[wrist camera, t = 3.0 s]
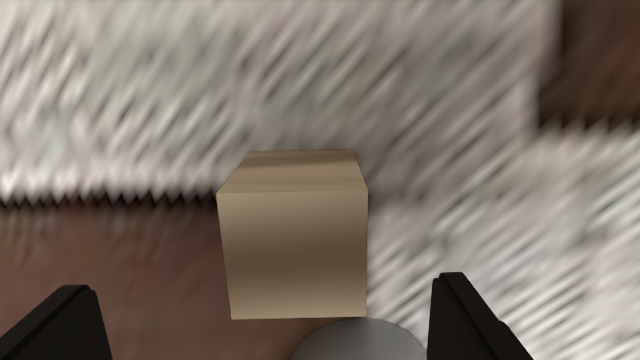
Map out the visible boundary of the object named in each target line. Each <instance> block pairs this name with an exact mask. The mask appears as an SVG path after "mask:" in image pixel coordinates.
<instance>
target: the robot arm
mask: <svg viewBox="0 0 640 360" xmlns="http://www.w3.org/2000/svg"><path fill="white" fill-rule="evenodd" d="M0 360H113V359H112V355H111V351H110V347H109V343H108V338H107V334H106V330H105V326H104V322H103V318H102V314H101V310H100V306H99V302H98V298H97V294H96V292H95V291H94V290H91V289H90V287H89V286H88V285H64V286H61V287H60V288H58V289H57V290H56V291H55V292H53V293H52V294H51V295H50V296H49V297H48V298H46V299H45V300H44V301H43V302H42V303H40V304H39V305H38V306H37V307H36V308H35V309H33V310H32V311H31V312H30V313H29V314H28V315H26V316H25V317H24V318H23V319H22V320H21V321H19V322H18V323H17V324H16V325H15V326H13V327H12V328H11V329H10V330H9V331H8V332H6V333H5V334H4V335H3V336H2V337H1V338H0ZM427 360H533V358H532V357H531V356H530V354H529V353H528V352H527V350H526V349H525V348H524V347H523V345H522V344H521V343H520V341H519V340H518V339H517V337H516V336H515V335H514V334H513V332H512V331H511V330H510V328H509V327H508V326H507V325H506V324H505V323H504V322H502V321H499V320H498V319H497V317H496V316H495V315H494V313H493V312H492V311H491V309H490V308H489V307H488V305H487V304H486V303H485V301H484V300H483V299H482V297H481V296H480V295H479V293H478V292H477V291H476V289H475V288H474V287H473V285H472V284H471V283H470V281H469V280H468V279H467V277H466V276H465V275H464V274H463V273H462V272H447V273H440V275H439V278H434V279H433V283H432V295H431V307H430V319H429V332H428V344H427Z"/></svg>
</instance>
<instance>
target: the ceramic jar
mask: <svg viewBox="0 0 640 360" xmlns="http://www.w3.org/2000/svg"><path fill="white" fill-rule="evenodd" d="M290 360H427V351H426V349H425V347H424V346H423V345H422V343H421V342H420V341H419V340H418V339H417V338H416V337H415V336H414V335H413V334H411V333H410V332H409V331H407V330H406V329H404V328H402V327H400V326H398V325H396V324H393V323H390V322H387V321H383V320H379V319H372V318H352V319H345V320H340V321H337V322H333V323H330V324H328V325H325V326H323V327H321V328H319V329H318V330H316V331H314V332H313V333H311V334H310V335H309V336H307V337H306V338H305V339H304V340H303V341H302V342H301V343H300V344H299V345H298V347H297V348H296V349H295V351H294V352H293V354H292V356H291V358H290Z"/></svg>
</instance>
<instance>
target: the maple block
mask: <svg viewBox="0 0 640 360" xmlns="http://www.w3.org/2000/svg"><path fill="white" fill-rule="evenodd" d="M216 198H217V206H218V214H219V222H220V230H221V238H222V246H223V254H224V262H225V270H226V278H227V286H228V294H229V301H230V309H231V317H232V319H270V318H317V317H363V316H366V275H367V219H368V189H367V186H366V184H365V181H364V178H363V176H362V173H361V171H360V168H359V165H358V163H357V160H356V158H355V155H354V153H353V150H352V149H331V150H291V151H251V152H249V154H248V155H247V156H246V157H245V159H244V160H243V161H242V162H241V164H240V165H239V166H238V167H237V168H236V170H235V171H234V172H233V173H232V175H231V176H230V177H229V178H228V179H227V181H226V182H225V183H224V184H223V186H222V187H221V188H220V189H219V191H218V192H217V193H216Z"/></svg>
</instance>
